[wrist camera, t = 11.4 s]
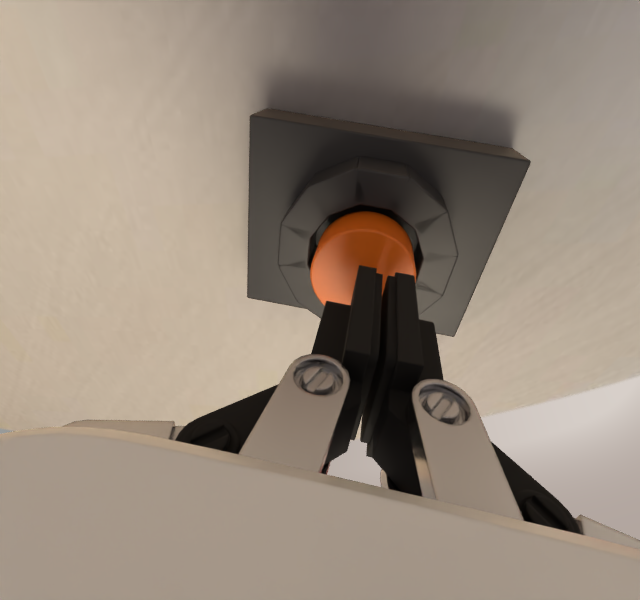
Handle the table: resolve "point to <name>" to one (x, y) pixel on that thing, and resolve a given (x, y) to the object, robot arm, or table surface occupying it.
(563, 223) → the table surface
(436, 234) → the block
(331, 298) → the button
